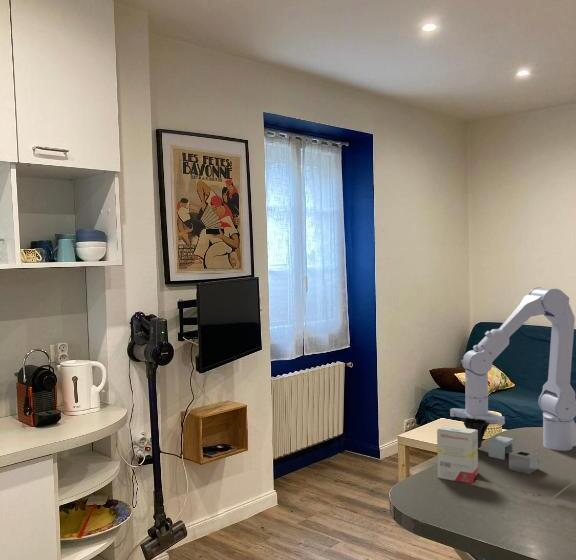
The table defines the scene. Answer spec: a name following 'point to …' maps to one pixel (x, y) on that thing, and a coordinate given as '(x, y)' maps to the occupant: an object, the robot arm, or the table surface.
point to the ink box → (457, 453)
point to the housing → (500, 447)
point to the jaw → (523, 461)
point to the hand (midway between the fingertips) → (476, 447)
